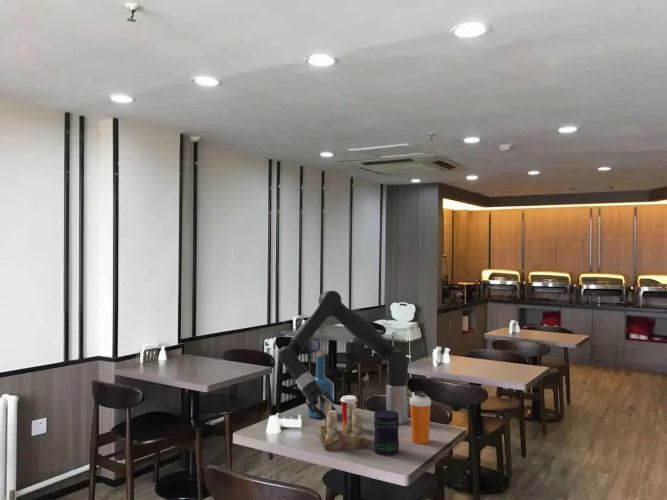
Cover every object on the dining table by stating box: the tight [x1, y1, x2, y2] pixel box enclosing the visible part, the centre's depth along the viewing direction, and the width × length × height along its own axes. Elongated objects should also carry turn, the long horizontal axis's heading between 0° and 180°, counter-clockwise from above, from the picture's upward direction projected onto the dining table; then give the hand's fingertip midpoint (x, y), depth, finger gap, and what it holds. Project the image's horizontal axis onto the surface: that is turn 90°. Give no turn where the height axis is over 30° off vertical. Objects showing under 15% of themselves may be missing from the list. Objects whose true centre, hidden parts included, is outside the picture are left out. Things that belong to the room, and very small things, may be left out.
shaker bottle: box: [408, 391, 432, 445], centre depth 230 cm, size 9×9×20 cm
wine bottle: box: [306, 352, 335, 419], centre depth 268 cm, size 14×13×30 cm
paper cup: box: [339, 395, 359, 430], centre depth 246 cm, size 8×8×14 cm
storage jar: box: [373, 403, 400, 457], centre depth 217 cm, size 10×10×18 cm
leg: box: [321, 403, 332, 430], centre depth 232 cm, size 4×4×12 cm
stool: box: [318, 402, 368, 452], centre depth 228 cm, size 17×17×14 cm
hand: (330, 416), depth 232 cm, fingers open, 8 cm apart
